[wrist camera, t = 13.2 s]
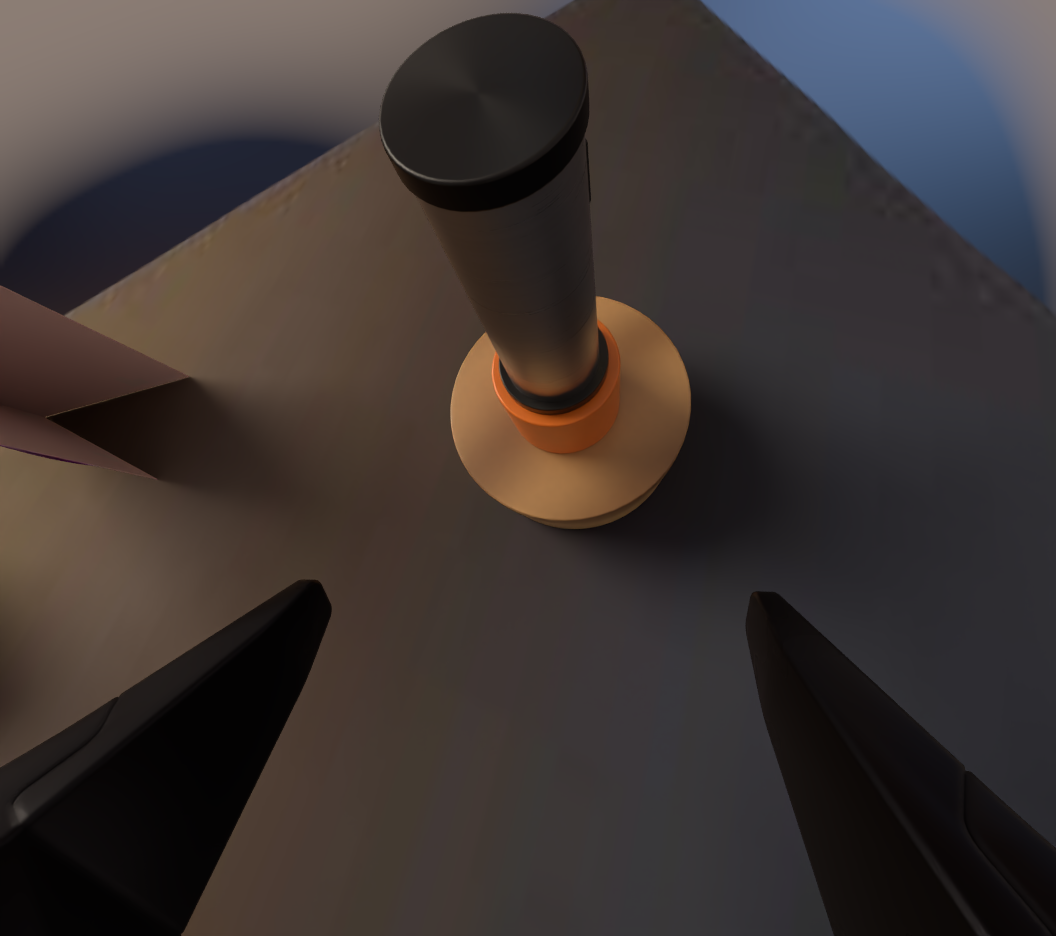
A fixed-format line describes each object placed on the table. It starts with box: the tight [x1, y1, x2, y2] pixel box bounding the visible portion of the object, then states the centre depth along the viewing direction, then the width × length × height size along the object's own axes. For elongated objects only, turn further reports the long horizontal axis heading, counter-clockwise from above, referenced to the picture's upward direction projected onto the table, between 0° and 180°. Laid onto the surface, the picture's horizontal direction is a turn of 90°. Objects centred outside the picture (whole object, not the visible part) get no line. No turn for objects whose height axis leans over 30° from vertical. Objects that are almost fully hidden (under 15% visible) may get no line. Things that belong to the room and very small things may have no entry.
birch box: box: [451, 296, 691, 529], centre depth 21 cm, size 10×10×4 cm
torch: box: [379, 13, 621, 454], centre depth 13 cm, size 5×5×13 cm
